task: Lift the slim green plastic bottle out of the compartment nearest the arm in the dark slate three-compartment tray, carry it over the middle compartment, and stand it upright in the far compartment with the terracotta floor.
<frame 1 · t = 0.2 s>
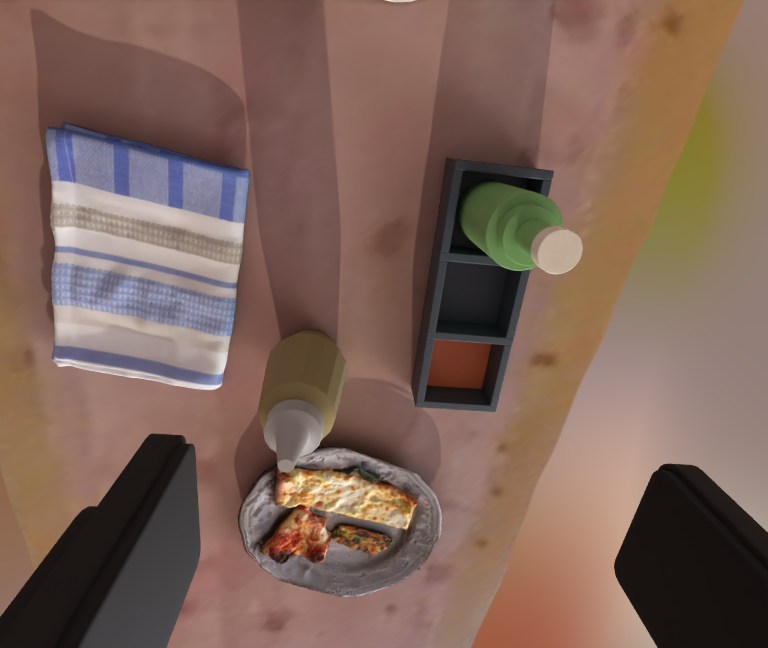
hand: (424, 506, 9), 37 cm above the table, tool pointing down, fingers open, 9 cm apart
dish towel: (152, 268, 44), on the table
tray: (468, 288, 46), on the table
bottle: (484, 211, 43), resting on tray
food plate: (341, 514, 57), on the table
squeeze bottle: (310, 353, 48), on the table
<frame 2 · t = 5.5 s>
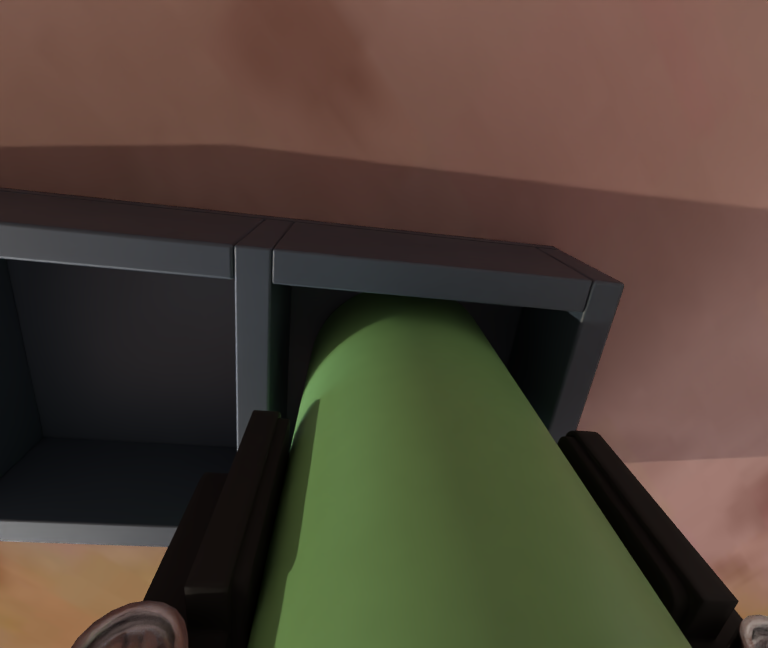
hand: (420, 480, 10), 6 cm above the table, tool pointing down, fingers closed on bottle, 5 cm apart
tray: (153, 341, 14), on the table
bottle: (399, 367, 14), point 1 cm above the table, touching gripper, tray
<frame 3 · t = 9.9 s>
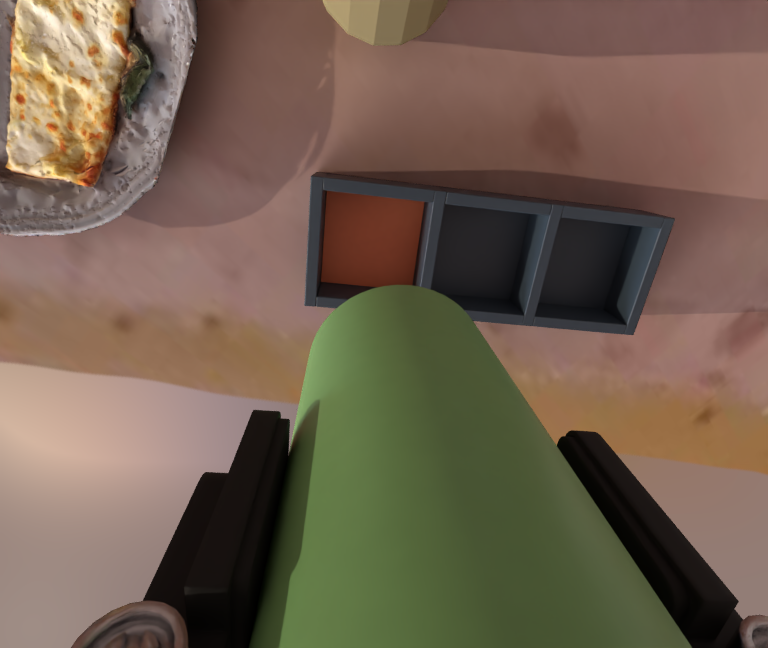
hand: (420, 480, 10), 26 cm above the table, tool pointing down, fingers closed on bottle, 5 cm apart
tray: (473, 250, 34), on the table
bottle: (397, 367, 14), point 21 cm above the table, touching gripper
food plate: (6, 23, 27), on the table
when the fingers open (6 cm above the table, at t = 14.6 s): bottle stays where it is, resting on tray.
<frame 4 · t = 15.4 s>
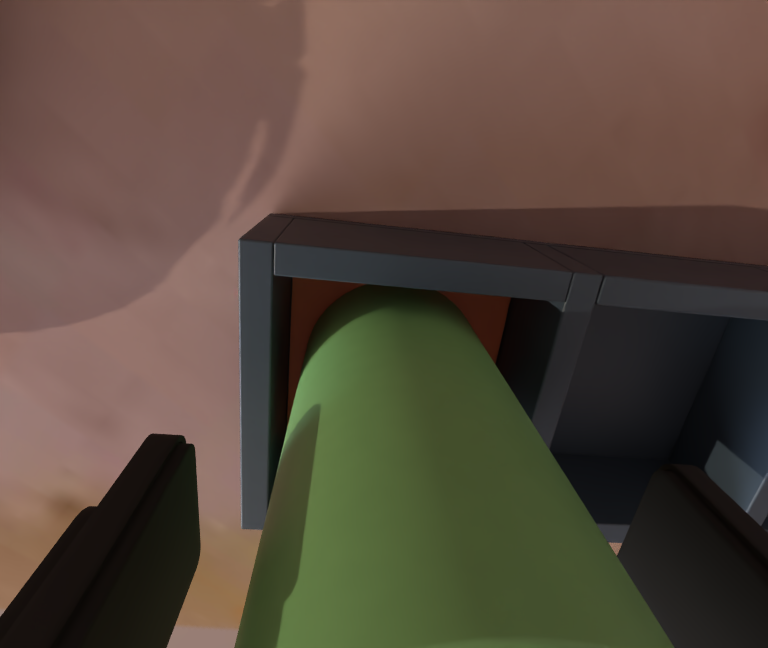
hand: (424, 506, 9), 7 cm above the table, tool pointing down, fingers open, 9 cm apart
tray: (604, 367, 16), on the table
bottle: (391, 361, 15), point 1 cm above the table, touching tray
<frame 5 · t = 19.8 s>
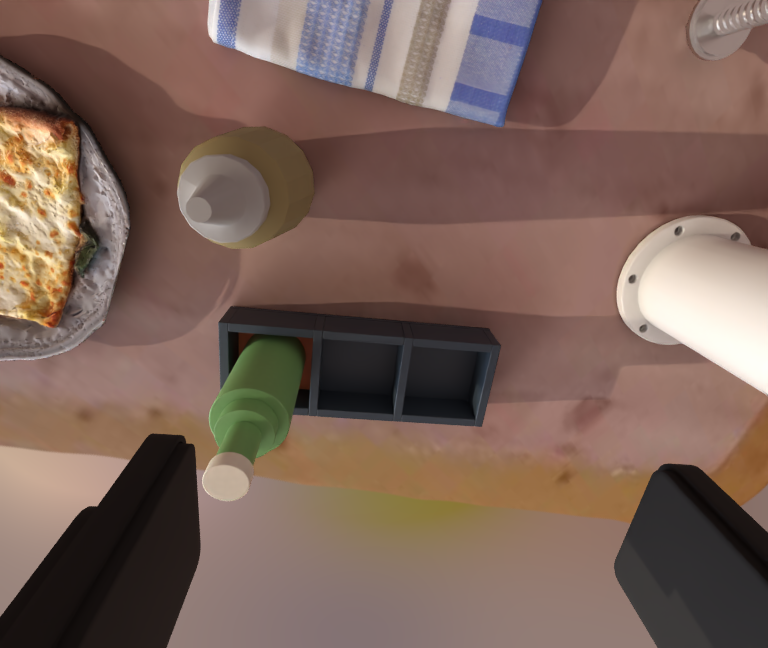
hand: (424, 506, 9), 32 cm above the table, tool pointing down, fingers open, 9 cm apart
tray: (359, 358, 44), on the table
bottle: (275, 355, 42), point 1 cm above the table, touching tray
screw: (699, 29, 35), on the table
squeeze bottle: (270, 180, 37), on the table
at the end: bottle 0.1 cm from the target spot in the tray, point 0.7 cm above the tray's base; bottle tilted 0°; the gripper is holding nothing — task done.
